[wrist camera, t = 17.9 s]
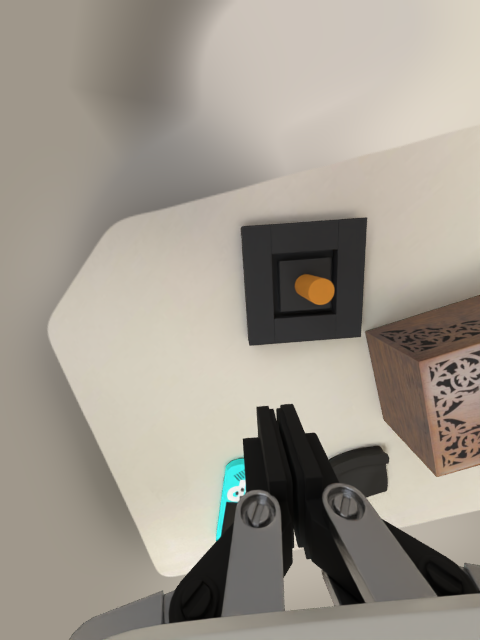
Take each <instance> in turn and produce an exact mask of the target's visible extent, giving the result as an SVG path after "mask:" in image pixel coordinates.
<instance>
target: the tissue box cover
mask: <svg viewBox="0 0 480 640" xmlns="http://www.w3.org/2000/svg"><path fill="white" fill-rule="evenodd" d="M365 333H366V338H367V343H368V347H369V352H370V357H371V362H372V366H373V371H374V376H375V381H376V385H377V390H378V395H379V400H380V404H381V409H382V414H383V419H384V421H385V422H386V423H387V424H388V425H389V426H390V427H391V428H392V429H393V430H394V431H395V432H396V434H397V435H398V436H399V437H400V438H401V439H402V440H403V441H404V442H405V443H406V444H407V445H408V447H409V448H410V449H411V450H412V451H413V452H414V453H415V454H416V455H417V456H418V457H419V458H420V459H421V461H422V462H423V463H424V464H425V465H426V466H427V467H428V468H429V469H430V470H431V471H432V472H433V474H434V475H435V476H436V477H439V476H442V475H446V474H449V473H453V472H456V471H460V470H463V469H467V468H470V467H474V466H477V465H480V295H479V296H476V297H473V298H469V299H466V300H463V301H460V302H457V303H454V304H450V305H447V306H444V307H441V308H438V309H435V310H432V311H428V312H425V313H422V314H419V315H416V316H413V317H409V318H406V319H403V320H400V321H397V322H394V323H391V324H387V325H384V326H381V327H378V328H375V329H372V330H368V331H365Z"/></svg>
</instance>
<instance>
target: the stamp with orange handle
mask: <svg viewBox="0 0 480 640" xmlns="http://www.w3.org/2000/svg"><path fill="white" fill-rule="evenodd" d="M277 271H278V301H279V310H280V311H281V312H287V311H300V310H313V309H326V308H330V300H331V299H332V298H333V296H334V286H333V284H332V282H331V281H330V280H331V257H324V258H310V259H297V260H283V261H277Z"/></svg>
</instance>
